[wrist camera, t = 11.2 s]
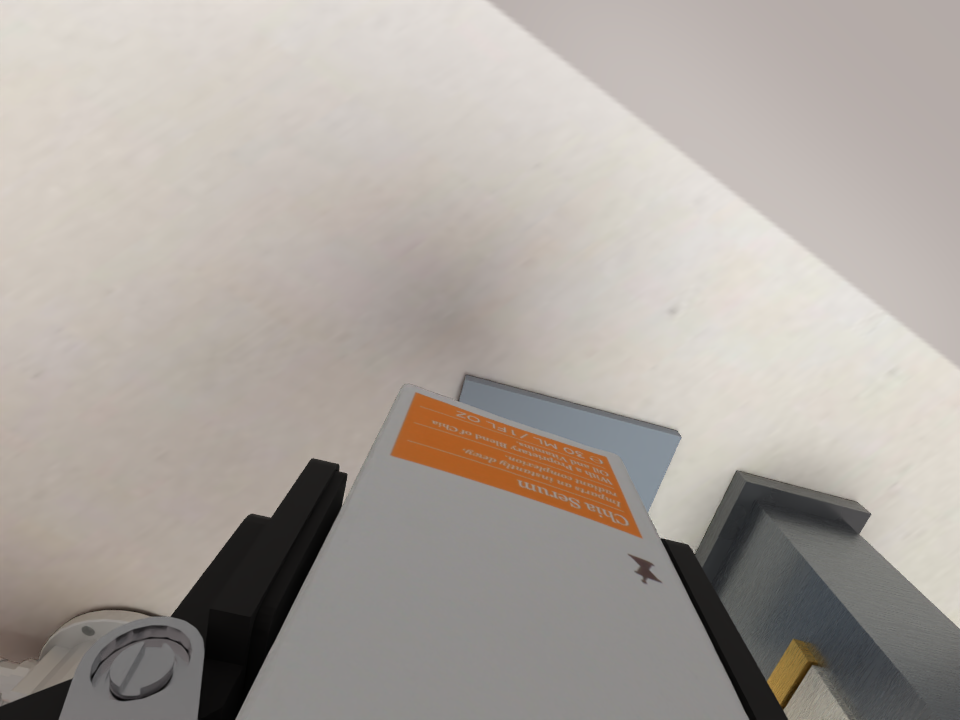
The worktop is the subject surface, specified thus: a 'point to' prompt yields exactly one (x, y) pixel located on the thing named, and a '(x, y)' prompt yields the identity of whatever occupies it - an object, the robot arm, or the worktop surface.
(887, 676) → the mounted unit
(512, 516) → the skincare box
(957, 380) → the worktop surface
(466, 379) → the slate mat
